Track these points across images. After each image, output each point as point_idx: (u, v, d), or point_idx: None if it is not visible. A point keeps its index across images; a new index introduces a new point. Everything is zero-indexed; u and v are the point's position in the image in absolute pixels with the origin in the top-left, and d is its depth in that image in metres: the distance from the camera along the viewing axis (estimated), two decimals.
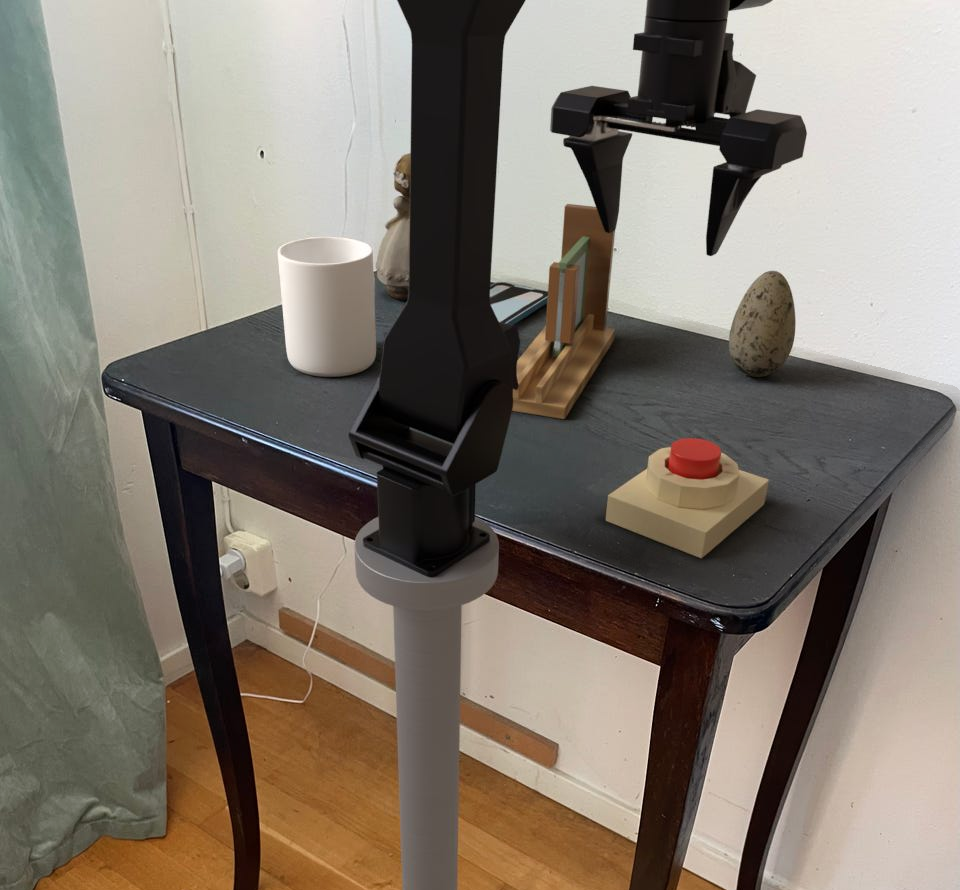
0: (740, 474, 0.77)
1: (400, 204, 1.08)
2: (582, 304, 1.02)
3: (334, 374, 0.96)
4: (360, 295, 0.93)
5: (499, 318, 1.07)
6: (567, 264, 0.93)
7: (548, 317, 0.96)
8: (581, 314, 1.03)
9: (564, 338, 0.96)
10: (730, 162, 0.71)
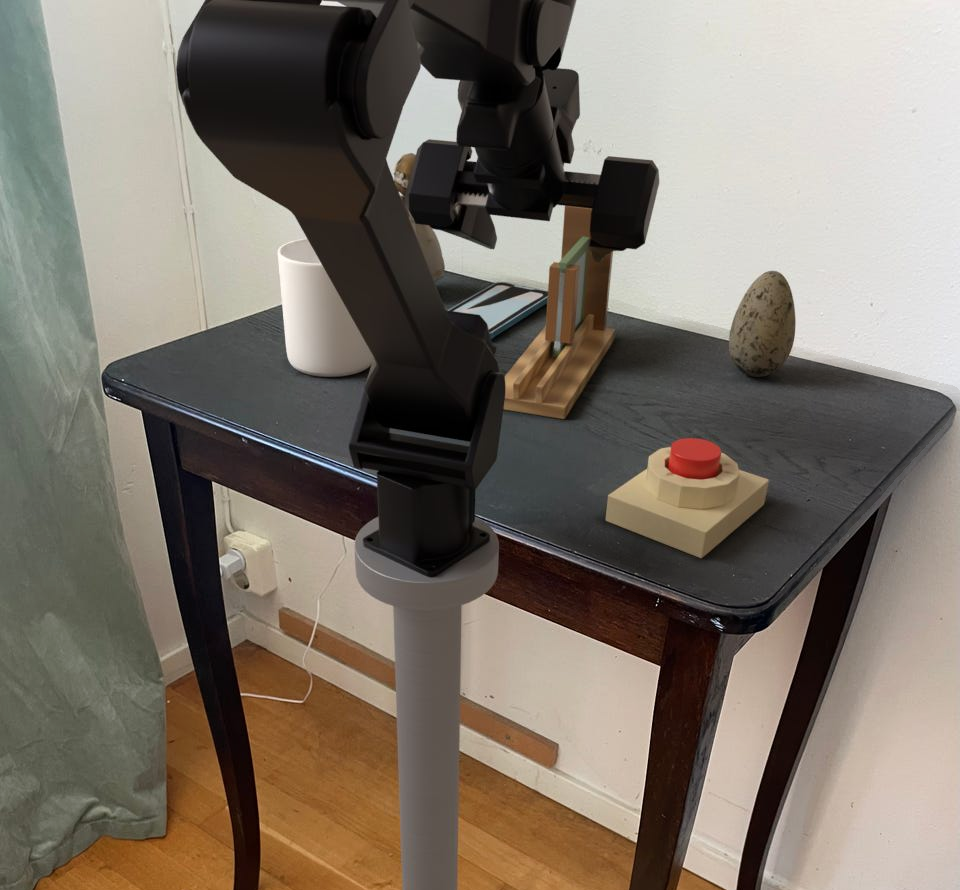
0: (740, 474, 0.77)
1: None
2: (582, 304, 1.02)
3: (334, 374, 0.96)
4: None
5: (499, 319, 1.07)
6: (567, 264, 0.93)
7: (548, 317, 0.96)
8: (581, 314, 1.03)
9: (564, 338, 0.96)
10: (605, 245, 0.76)
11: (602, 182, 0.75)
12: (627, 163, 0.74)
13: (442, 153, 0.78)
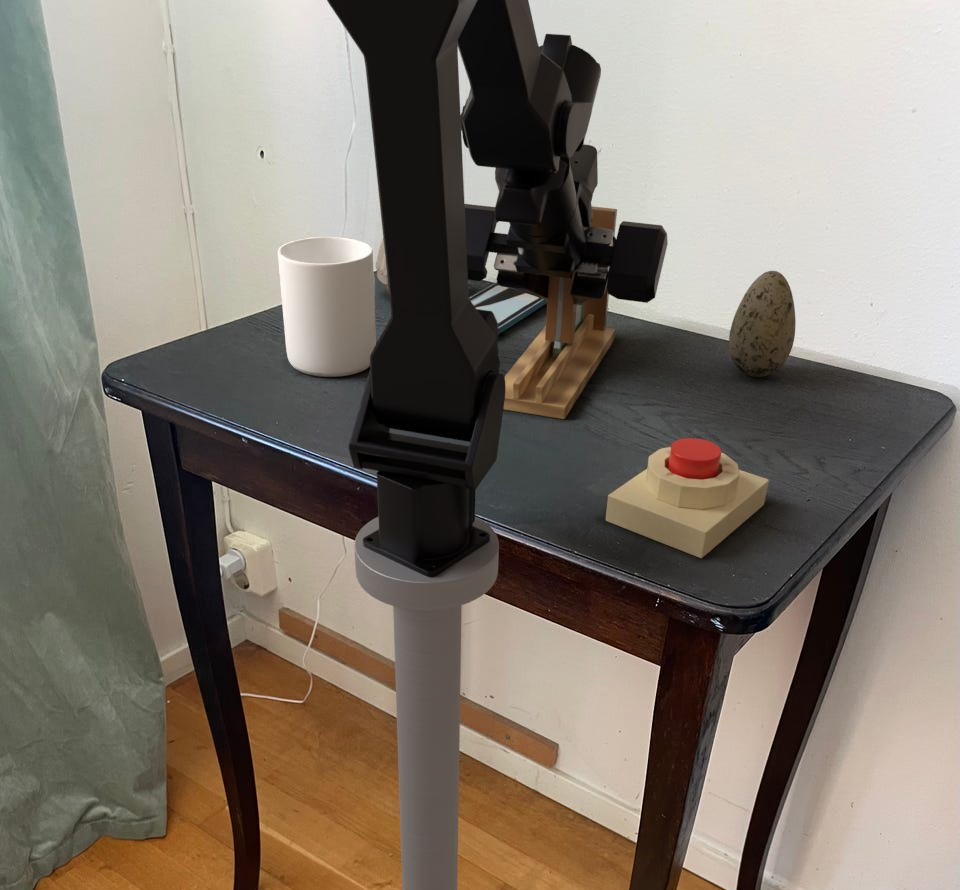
0: (740, 474, 0.77)
1: None
2: (582, 304, 1.02)
3: (334, 374, 0.96)
4: (360, 295, 0.93)
5: (499, 318, 1.07)
6: None
7: (548, 317, 0.96)
8: (581, 314, 1.03)
9: (564, 338, 0.96)
10: (620, 298, 0.87)
11: (618, 245, 0.85)
12: (639, 228, 0.85)
13: (476, 217, 0.89)
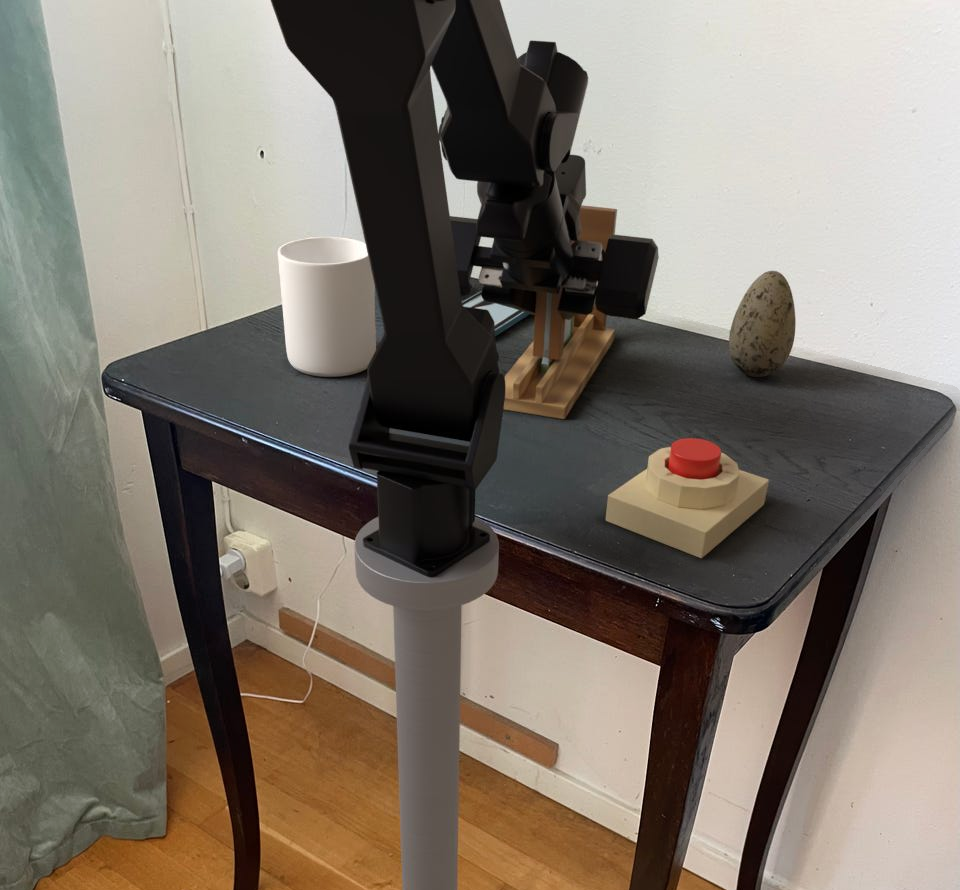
0: (740, 474, 0.77)
1: None
2: (572, 318, 0.99)
3: (334, 374, 0.96)
4: (360, 295, 0.93)
5: (499, 318, 1.07)
6: None
7: (536, 332, 0.92)
8: (571, 328, 0.99)
9: (552, 354, 0.93)
10: (609, 315, 0.84)
11: (606, 259, 0.82)
12: (629, 242, 0.82)
13: (460, 230, 0.85)
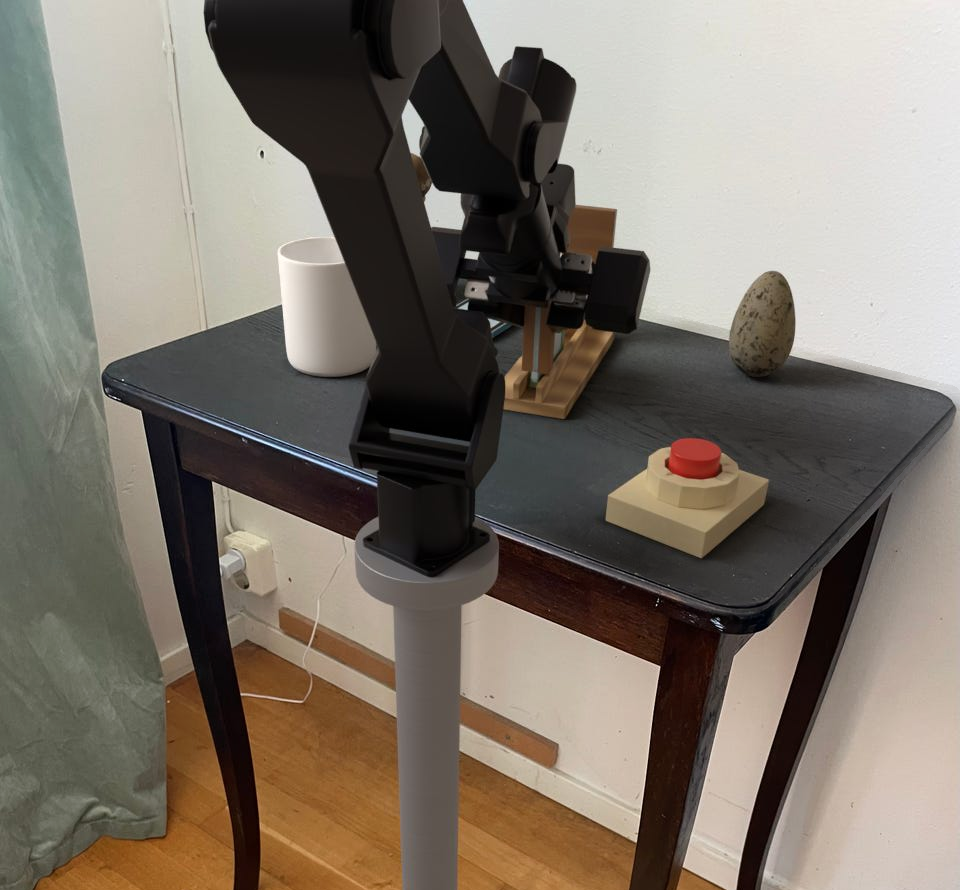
0: (740, 474, 0.77)
1: None
2: None
3: (334, 374, 0.96)
4: None
5: None
6: None
7: (524, 346, 0.89)
8: (561, 341, 0.97)
9: (542, 368, 0.90)
10: (599, 329, 0.81)
11: (596, 272, 0.79)
12: (620, 254, 0.79)
13: (445, 241, 0.82)
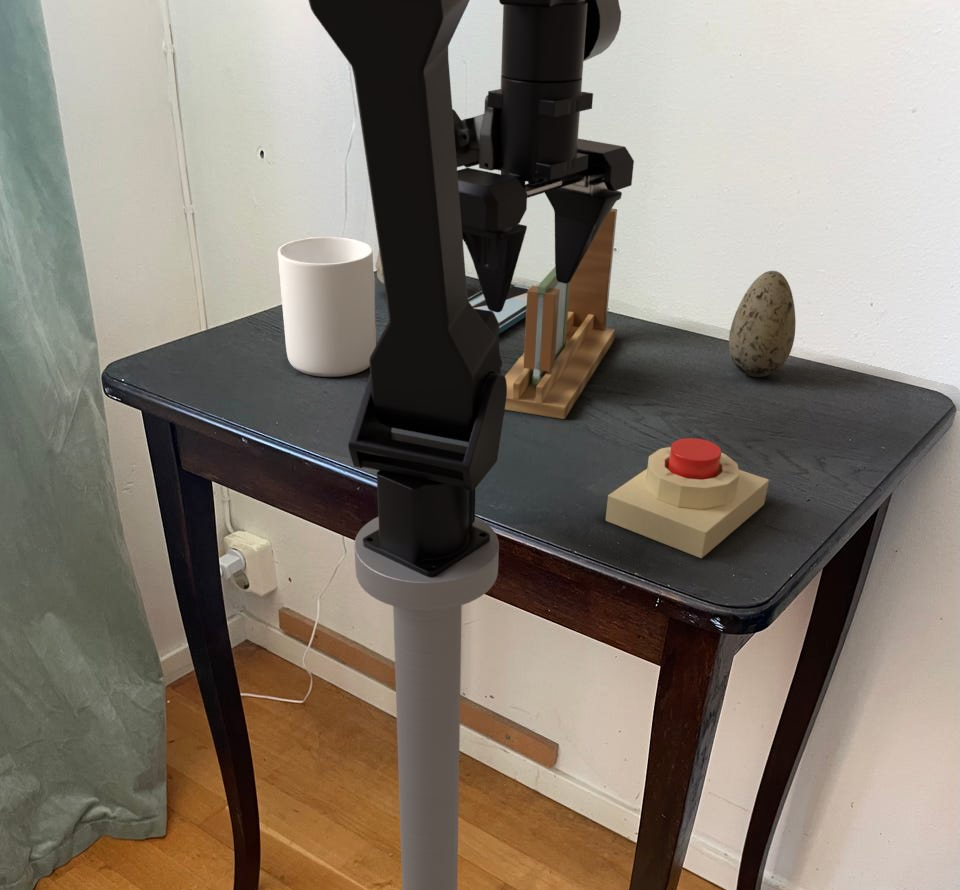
0: (740, 474, 0.77)
1: None
2: (564, 328, 0.97)
3: (334, 374, 0.96)
4: (360, 295, 0.93)
5: (499, 318, 1.07)
6: (546, 288, 0.87)
7: (526, 344, 0.90)
8: (563, 338, 0.97)
9: (544, 366, 0.91)
10: (615, 189, 0.79)
11: None
12: None
13: (462, 173, 0.71)
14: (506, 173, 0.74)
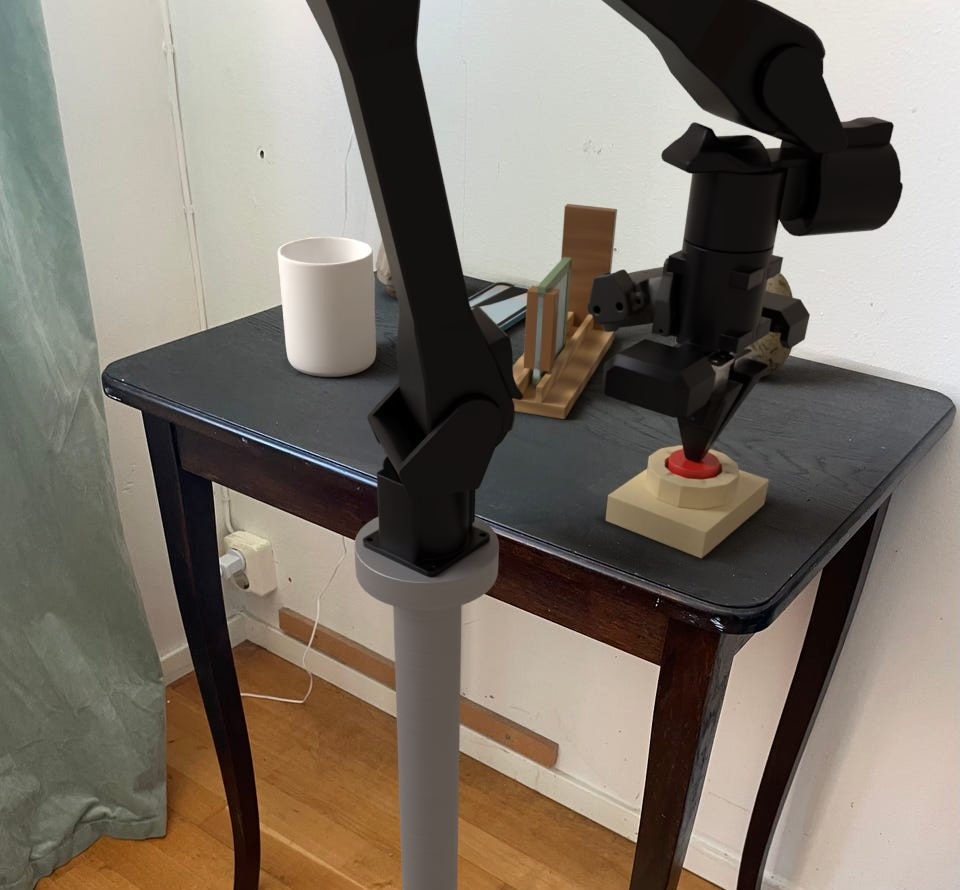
0: (740, 474, 0.77)
1: None
2: (564, 328, 0.97)
3: (334, 374, 0.96)
4: (360, 295, 0.93)
5: (499, 318, 1.07)
6: (546, 288, 0.87)
7: (526, 344, 0.90)
8: (563, 338, 0.97)
9: (544, 366, 0.91)
10: (791, 347, 0.73)
11: None
12: None
13: (643, 348, 0.65)
14: (684, 341, 0.67)
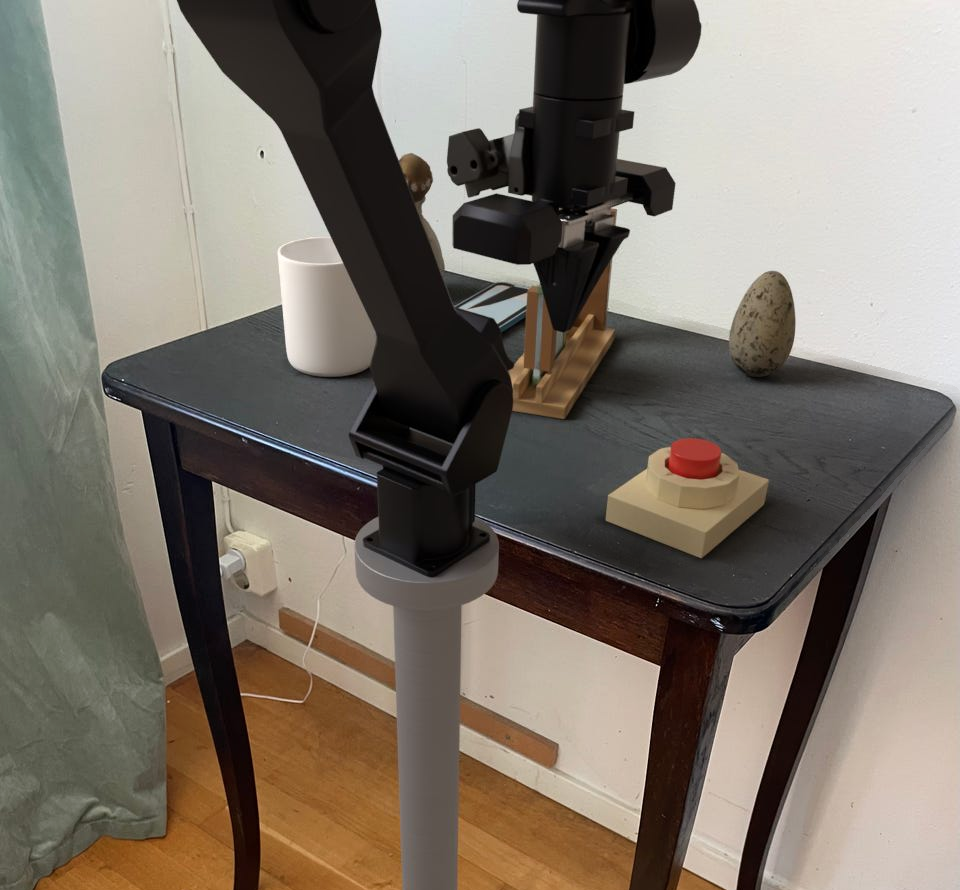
0: (740, 474, 0.77)
1: None
2: None
3: (334, 374, 0.96)
4: None
5: (499, 318, 1.07)
6: None
7: (526, 344, 0.90)
8: (563, 338, 0.97)
9: (544, 366, 0.91)
10: (656, 214, 0.73)
11: None
12: None
13: (491, 199, 0.65)
14: (538, 199, 0.67)
